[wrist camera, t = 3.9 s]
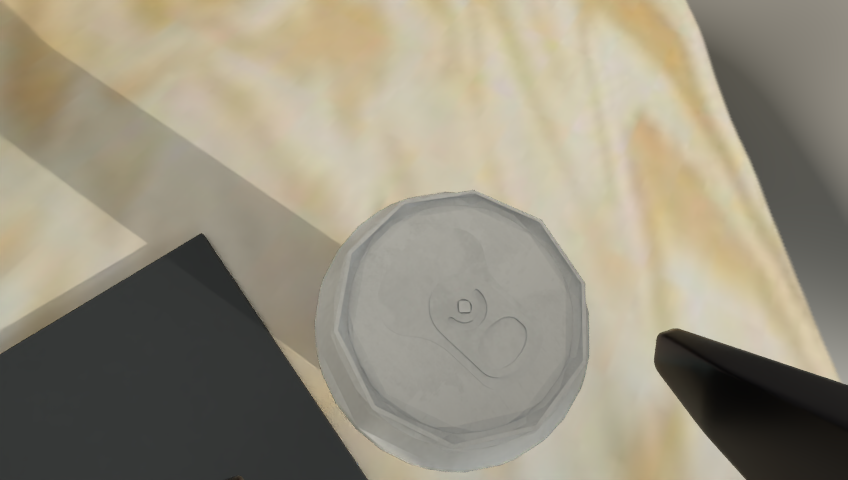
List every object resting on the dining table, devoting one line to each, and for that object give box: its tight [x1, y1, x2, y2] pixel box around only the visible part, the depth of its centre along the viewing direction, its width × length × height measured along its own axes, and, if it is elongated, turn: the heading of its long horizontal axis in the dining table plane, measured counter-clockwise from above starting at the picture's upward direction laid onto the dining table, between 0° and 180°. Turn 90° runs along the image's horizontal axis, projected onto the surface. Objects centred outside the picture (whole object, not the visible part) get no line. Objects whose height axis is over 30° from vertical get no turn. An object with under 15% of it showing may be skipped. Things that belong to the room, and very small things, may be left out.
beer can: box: [315, 190, 589, 472], centre depth 12 cm, size 5×5×12 cm
